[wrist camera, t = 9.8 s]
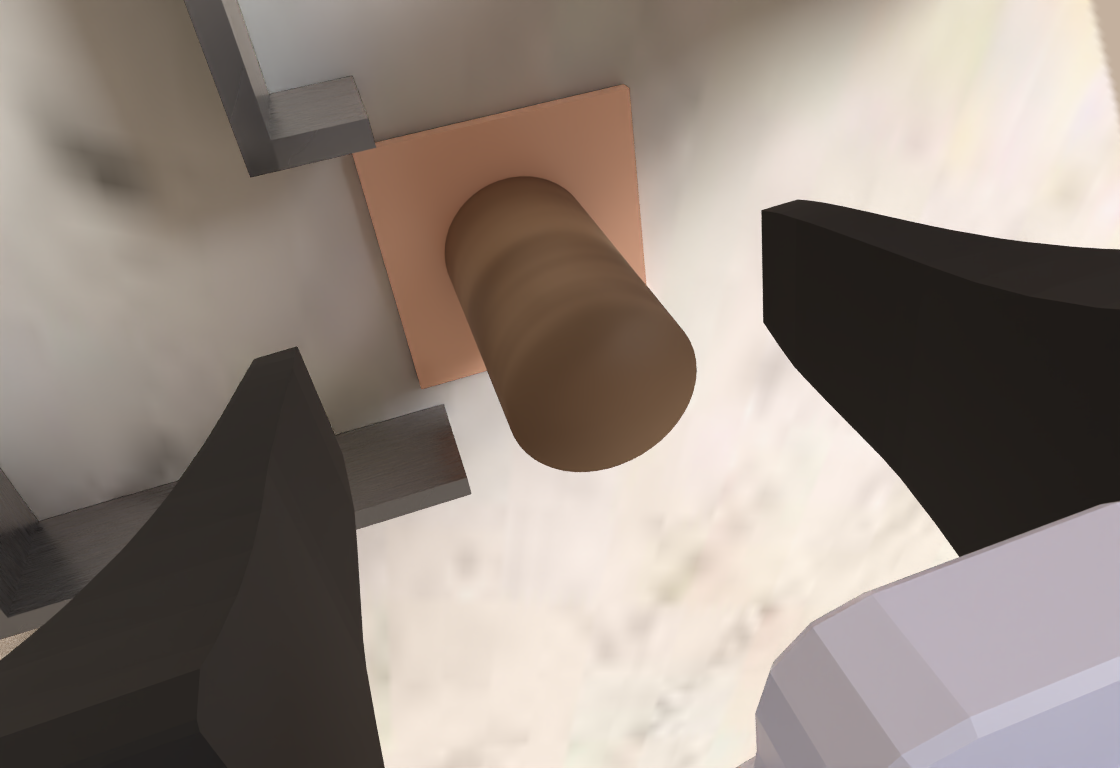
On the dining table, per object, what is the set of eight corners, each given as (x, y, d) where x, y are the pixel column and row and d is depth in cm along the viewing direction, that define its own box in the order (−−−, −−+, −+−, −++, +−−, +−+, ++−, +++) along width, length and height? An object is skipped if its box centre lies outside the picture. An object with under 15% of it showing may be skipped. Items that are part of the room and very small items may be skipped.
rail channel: (223, -389, 14) (214, -440, 12) (447, 419, 25) (471, 494, 22) (-592, -284, 12) (-838, -317, 10) (27, 543, 23) (-6, 641, 20)
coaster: (623, 84, 21) (629, 88, 21) (644, 317, 25) (649, 324, 25) (350, 147, 20) (351, 153, 20) (419, 381, 24) (421, 389, 24)
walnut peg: (608, 276, 23) (714, 419, 18) (480, 337, 23) (547, 500, 18) (561, 150, 21) (669, 270, 15) (419, 217, 21) (475, 362, 15)
